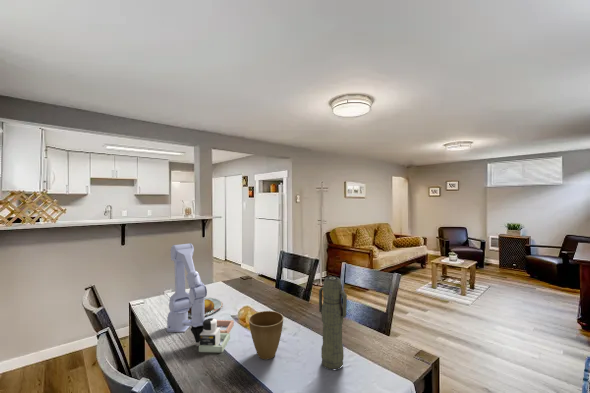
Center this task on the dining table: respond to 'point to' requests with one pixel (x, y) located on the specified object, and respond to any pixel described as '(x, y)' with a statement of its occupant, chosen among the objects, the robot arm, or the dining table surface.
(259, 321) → the plant pot
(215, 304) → the food on plate
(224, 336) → the sage bay
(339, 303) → the thermos
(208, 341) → the medicine bottle
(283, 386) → the dining table surface
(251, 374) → the dining table surface
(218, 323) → the terracotta bay
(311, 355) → the dining table surface
